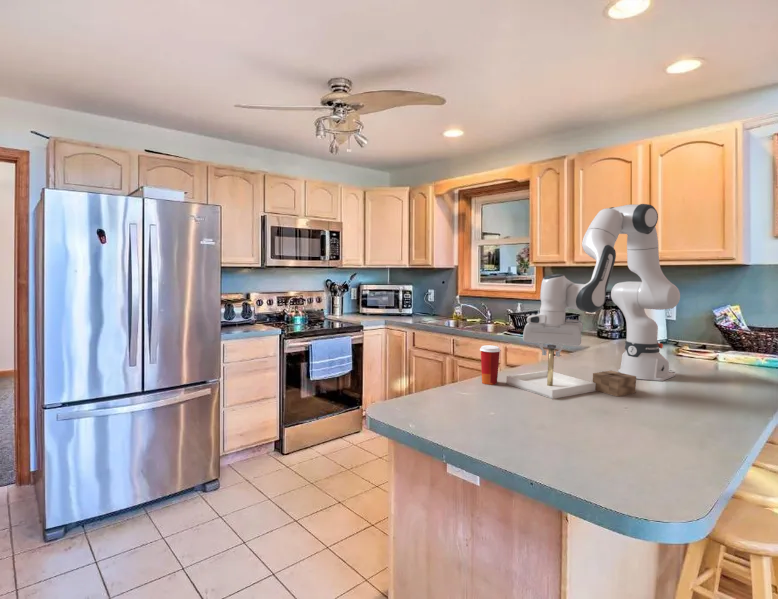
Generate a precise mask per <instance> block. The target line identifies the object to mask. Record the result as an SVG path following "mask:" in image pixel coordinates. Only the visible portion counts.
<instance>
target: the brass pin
mask: <svg viewBox="0 0 778 599" xmlns="http://www.w3.org/2000/svg"><path fill="white" fill-rule="evenodd" d="M546 348H547V349H548V351H547V352H548V354H547V355H548V356H547V357H548V358H547V359H548V360H547V370H548V374H547V385H548V386H553V372H554V365H555V349H556V348H557V344H547V347H546Z"/></svg>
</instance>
